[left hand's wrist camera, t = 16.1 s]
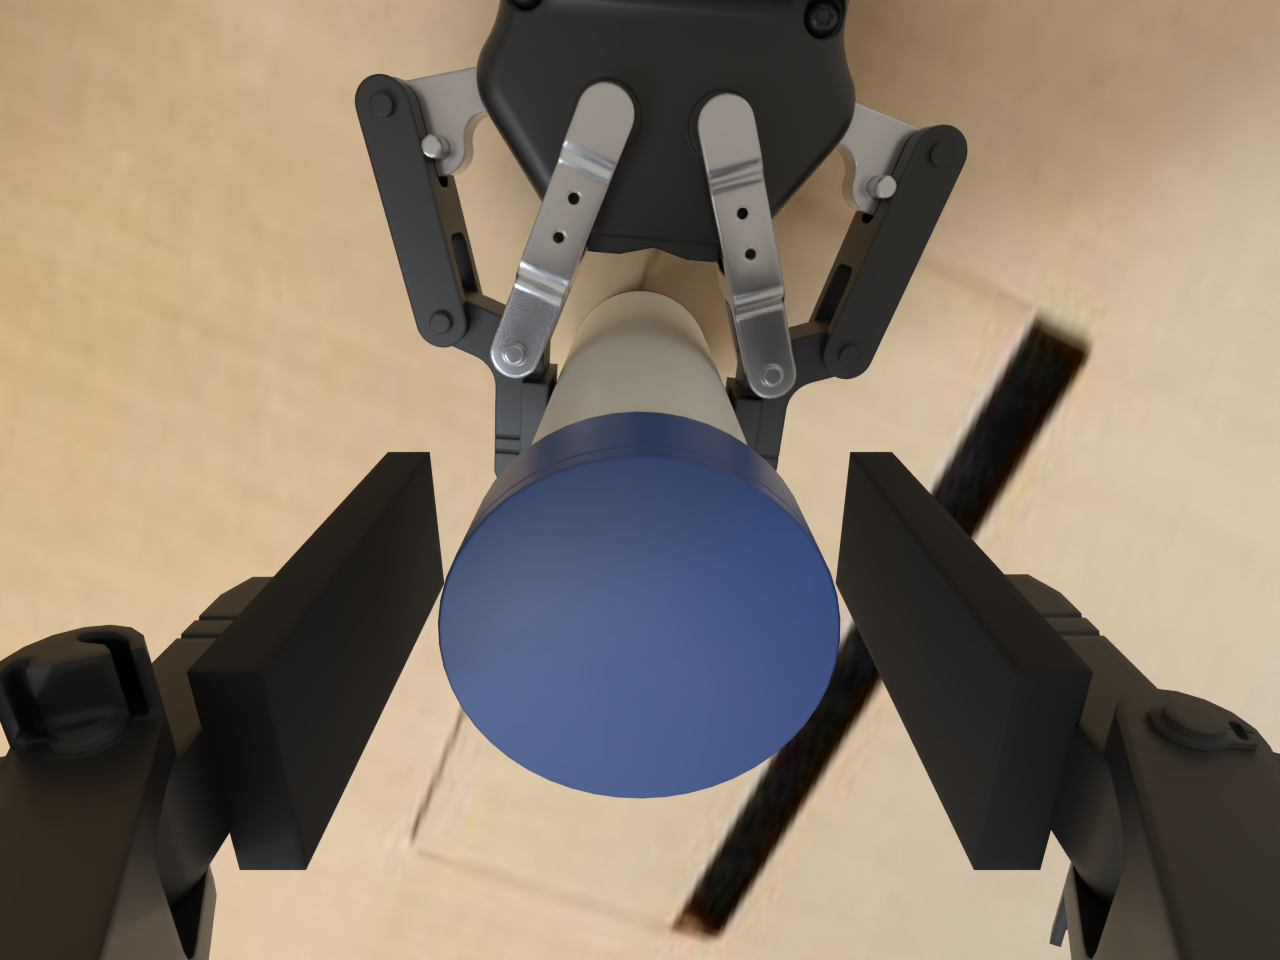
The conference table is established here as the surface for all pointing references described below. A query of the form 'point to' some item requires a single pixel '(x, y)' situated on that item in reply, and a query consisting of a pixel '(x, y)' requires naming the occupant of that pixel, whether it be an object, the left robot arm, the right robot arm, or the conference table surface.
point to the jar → (639, 367)
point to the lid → (639, 609)
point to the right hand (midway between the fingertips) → (630, 505)
